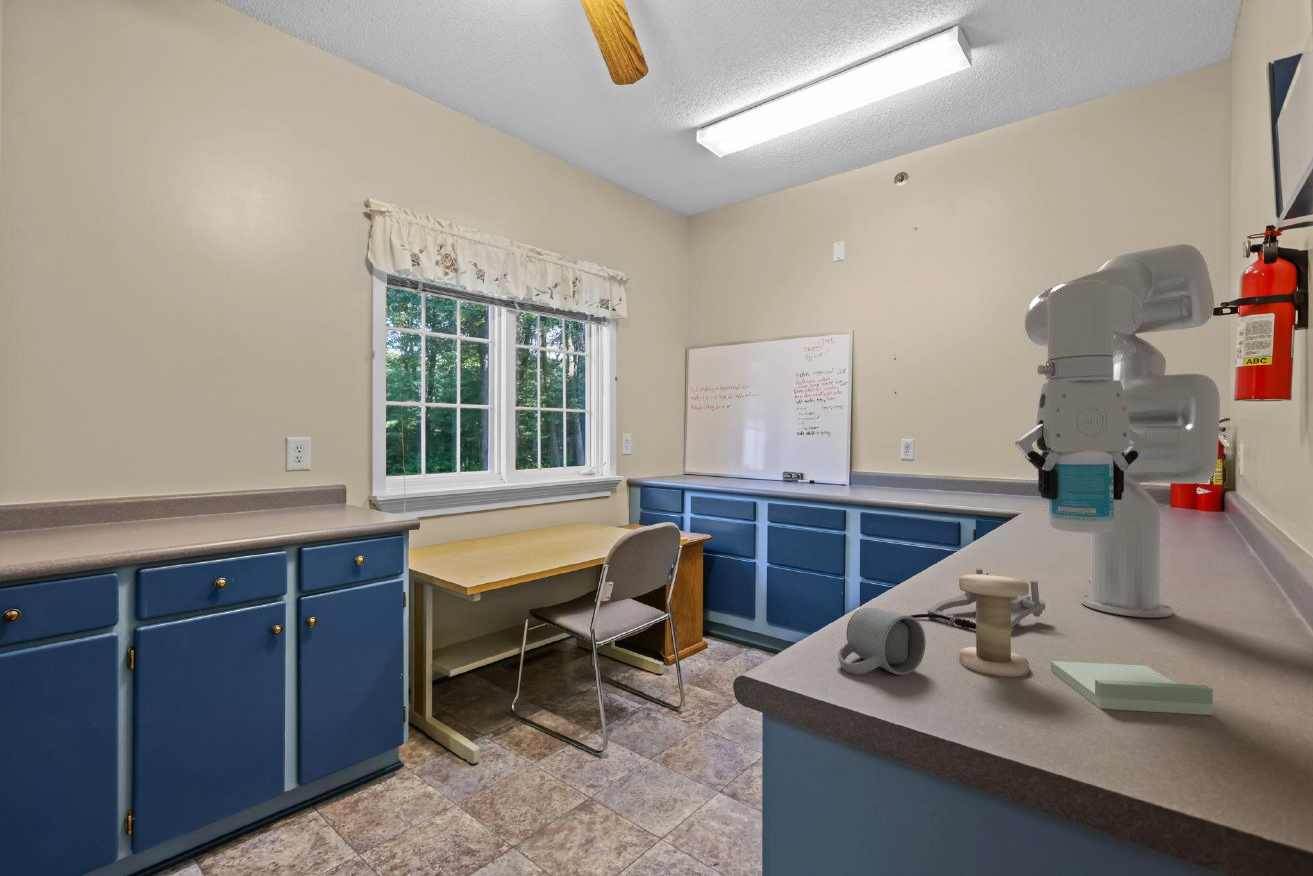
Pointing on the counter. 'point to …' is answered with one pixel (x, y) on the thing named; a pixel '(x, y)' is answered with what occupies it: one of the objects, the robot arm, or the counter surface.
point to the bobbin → (993, 626)
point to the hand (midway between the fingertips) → (1080, 497)
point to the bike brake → (1018, 605)
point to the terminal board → (1133, 688)
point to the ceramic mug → (883, 642)
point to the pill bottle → (1083, 493)
